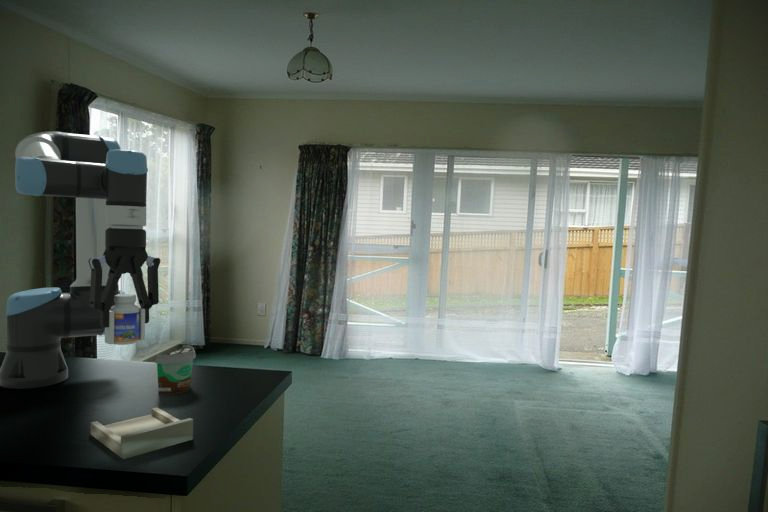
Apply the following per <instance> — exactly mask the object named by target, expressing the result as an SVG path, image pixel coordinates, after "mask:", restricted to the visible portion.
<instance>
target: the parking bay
mask: <svg viewBox="0 0 768 512" xmlns="http://www.w3.org/2000/svg"><path fill="white" fill-rule="evenodd" d="M90 435H91V436H92V437H93V438H95V439H96V440H97V441H98V442H100V443H101V444H102V445H104V446H105V447H107V448H108V449H109V450H110V451H112V452H113V453H114V454H116V455H117V456H118V457H120V458H121V459H122V460H126V459H129V458H133V457H137V456H140V455H144V454H148V453H150V452H154V451H158V450H161V449H165V448H167V447H171V446H174V445H177V444H181V443H185V442H188V441H189V442H190V441H192V440H193V439H194V419H193V418H192V417H189V418H185V419H180V418H176V416H175V417H174V416H173V415H171V414H170V413H168V412H166V411H165V410H162V409H161V408H159V407H154V408H151V413H150V414H147V415H142V416H138V417H133V418H130V419H126V420H122V421H121V420H120V421H117V422H113V423H109V424H105V425H103V424H102V423H101V422H99V420H96V421H92V422H90Z"/></svg>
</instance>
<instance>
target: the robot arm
mask: <svg viewBox="0 0 768 512" xmlns="http://www.w3.org/2000/svg"><path fill="white" fill-rule="evenodd" d="M14 157H15V167H14V168H15V169H14V171H15V173H14V176H15V177H14V180H15V181H14V182H15V190H16V192H17V193H18V194H20V195H26V196H27V195H29V196H33V197H40V196H41V197H43V196H44V197H60V198H61V197H64V198H66V197H67V198H75V243H76V246H75V249H76V250H75V251H76V252H75V253H76V255H75V256H76V257H75V258H76V259H75V260H76V262H75V263H76V266H75V268H76V271H75V272H76V278H75V281H73V282H72V283H71V284H70V286H69V292H62V291H63V290H62V289H61V288H60V287H55V286H54V287H40V288H34V289H28V290H23V291H22V290H21V291H19V292H15V293H12V294H11V295H10V296H8V299H7V301H6V312H5V316H6V353H5V356H4V359H3V361H2V364H1V366H0V387H2V388H5V389H14V390H15V389H17V390H18V389H20V390H21V389H22V390H23V389H34V388H35V389H36V388H42V387H49V386H53V385H56V384H59V383H62V382H64V381H66V380H67V379H68V378H69V367H68V365H67V363H66V359H65V356H64V353H63V352H62V348H61V346H62V345H61V340H62V339H64V338H79V337H80V338H81V337H89V336H90V337H91V336H103V335H104V343H105V344H108V345H115V344H114V311H111V310H110V309H111V307H112V306H114V305H115V304H116V303H115V302H114V297H115V295H121V294H126V293H125V291H122V290H119V281H120V279H121V278H122V275H124V274H129V275H130V278H131V280H132V282H133V283H132V284H133V286H134V290H135V295H136V299H137V300H138V304H139V306H140V307H139V340H138V341H140V342H141V341H145V340H146V324H149V322H150V309H151V308H152V307H154V306H155V305H158V304H159V302H160V301H159V299H160V298H159V296H160V294H159V267H160V265H161V259H160V257H154V256H151V255H149V254H148V253H147V231H146V229H144V227H146V226H147V196H148V195H147V192H148V191H147V185H148V172H149V168H148V164H147V163H148V161H147V156H146V154H145V153H143V152H141V151H137V150H130V149H122V148H121V146H120V144H119V142H118V141H117V140H116V139H115V138H111V137H104V136H101V135H90V134H79V133H73V132H72V133H70V132H64V131H63V132H62V131H51V130H50V131H41V132H35V133H33V134H29V135H28V136H24V137H23V138H22V139H21V140H19V141H18V143H17V144H16V147H15V149H14ZM145 263H146V266H147V269H146V272H147V276H146V277H147V278H146V279H147V287H146V284H145V281H144V274H143V269H142V267H143V266H144V264H145Z"/></svg>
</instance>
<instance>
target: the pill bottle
mask: <svg viewBox="0 0 768 512" xmlns="http://www.w3.org/2000/svg"><path fill="white" fill-rule="evenodd" d="M114 302H115V303H116V304H115V305H114V306H112V307H111V309H110V310H111V311H114V344H113V345H118V346H122V345H123V346H124V345H133V344H135V343H138V342H139V341H140V340H139V308H140V307H139V306H138V305H136V302H137V294H131V293H129V294H127V293H125V294H121V295H115V297H114Z"/></svg>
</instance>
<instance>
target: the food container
mask: <svg viewBox="0 0 768 512" xmlns="http://www.w3.org/2000/svg"><path fill="white" fill-rule="evenodd" d="M196 357H197V354H196V350H195V349H194V347H193V346H191V345H186V344H182V348H180V349H178V350H171V351H169V352H168V353H166V354H156V357H155V364H156V366H157V367H156V368H157V369H156V371H157V389H158V392H157V393H158V394H159V395H176V394H182V393H185V392H187V391H188V390H190V389H191V383H192V373H193V364H194V360H195V359H196Z"/></svg>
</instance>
